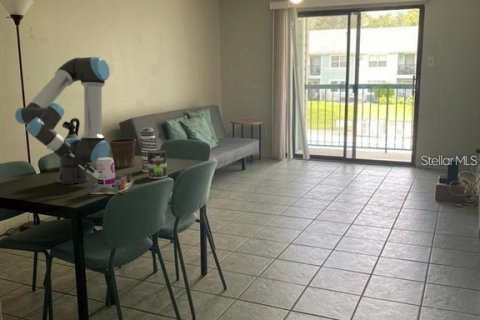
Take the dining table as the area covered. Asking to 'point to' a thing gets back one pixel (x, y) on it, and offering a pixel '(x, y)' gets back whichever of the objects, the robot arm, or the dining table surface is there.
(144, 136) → the decorative candle
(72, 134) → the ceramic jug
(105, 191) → the beige shallow tray
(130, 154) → the plant pot
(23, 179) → the dining table surface
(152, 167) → the coffee can
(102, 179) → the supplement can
